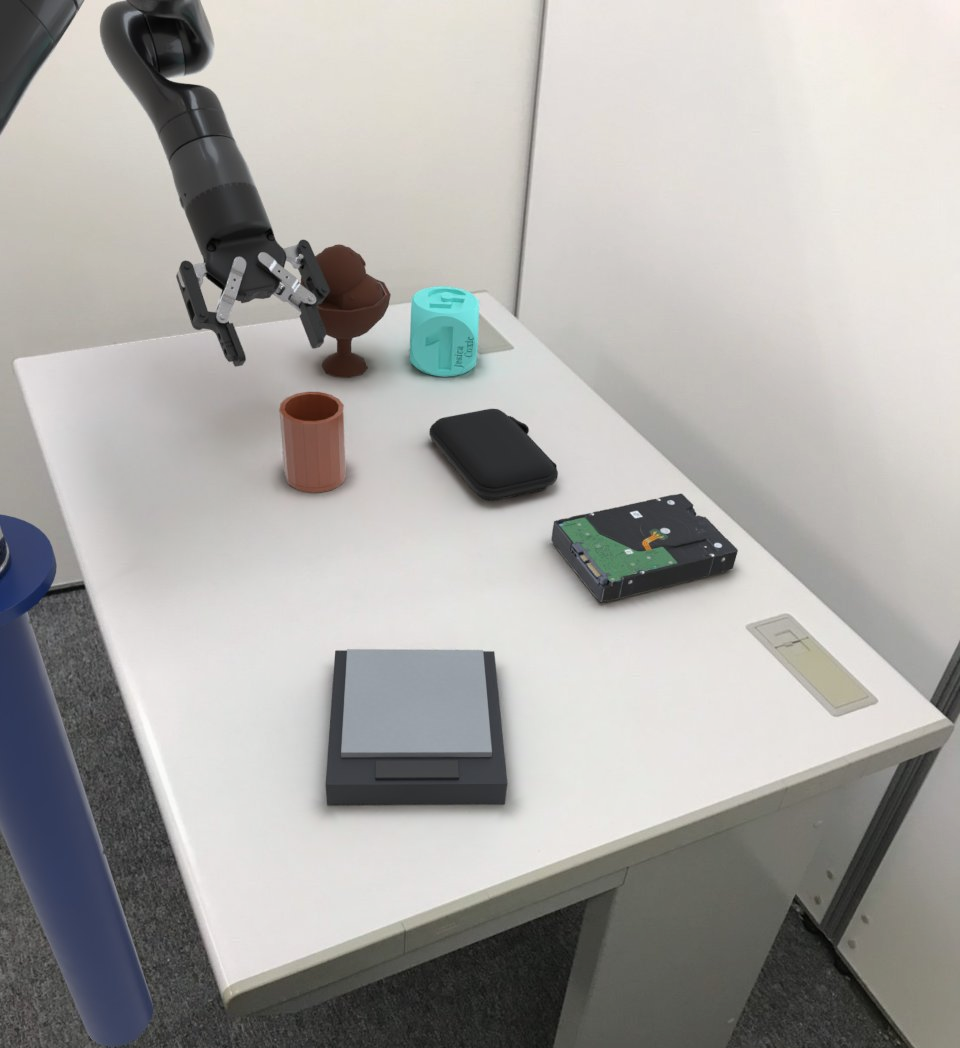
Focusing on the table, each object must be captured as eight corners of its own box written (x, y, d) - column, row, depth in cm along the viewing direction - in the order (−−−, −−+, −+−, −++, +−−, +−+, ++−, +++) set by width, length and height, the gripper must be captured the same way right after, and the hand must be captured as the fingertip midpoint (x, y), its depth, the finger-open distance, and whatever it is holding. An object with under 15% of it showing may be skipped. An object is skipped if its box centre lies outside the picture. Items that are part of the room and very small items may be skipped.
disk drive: (675, 514, 103) (548, 542, 98) (680, 491, 101) (551, 518, 96) (733, 573, 96) (601, 606, 91) (741, 549, 94) (605, 582, 89)
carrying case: (572, 490, 105) (508, 422, 114) (576, 465, 103) (510, 398, 112) (481, 511, 101) (422, 439, 111) (483, 485, 99) (423, 414, 109)
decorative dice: (409, 375, 121) (410, 312, 116) (411, 345, 127) (412, 283, 122) (475, 378, 121) (479, 316, 116) (474, 348, 127) (478, 287, 122)
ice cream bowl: (406, 374, 121) (408, 251, 111) (324, 396, 116) (318, 269, 106) (363, 339, 127) (360, 219, 117) (283, 358, 122) (273, 234, 112)
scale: (326, 805, 73) (325, 779, 71) (336, 671, 83) (334, 644, 81) (504, 804, 74) (508, 778, 72) (492, 671, 84) (495, 645, 82)
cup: (282, 492, 101) (276, 422, 96) (287, 459, 106) (282, 390, 101) (344, 493, 102) (342, 424, 97) (346, 460, 106) (344, 392, 101)
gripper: (156, 190, 93) (222, 356, 94) (296, 169, 99) (355, 325, 100) (145, 228, 100) (206, 383, 101) (276, 207, 106) (332, 353, 107)
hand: (280, 354), depth 100 cm, fingers open, 8 cm apart
